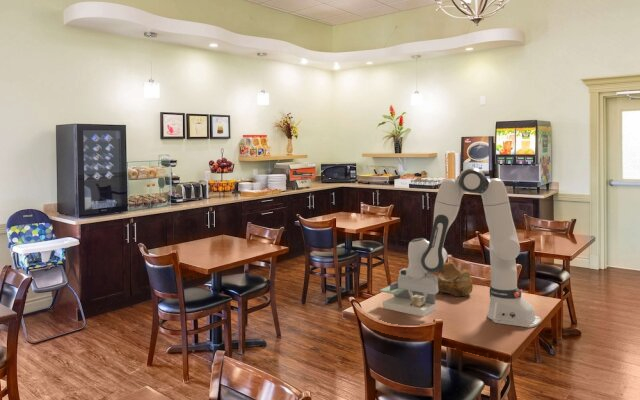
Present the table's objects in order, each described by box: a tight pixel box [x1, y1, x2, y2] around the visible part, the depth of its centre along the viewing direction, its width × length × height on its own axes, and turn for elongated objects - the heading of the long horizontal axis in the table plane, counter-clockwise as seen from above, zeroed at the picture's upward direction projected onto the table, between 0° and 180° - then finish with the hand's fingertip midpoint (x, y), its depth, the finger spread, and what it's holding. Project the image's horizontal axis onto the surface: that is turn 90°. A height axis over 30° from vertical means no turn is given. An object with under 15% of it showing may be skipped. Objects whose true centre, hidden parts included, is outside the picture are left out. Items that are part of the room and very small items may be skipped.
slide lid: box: [379, 281, 407, 295], centre depth 243 cm, size 10×10×4 cm
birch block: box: [412, 295, 425, 308], centre depth 236 cm, size 4×4×7 cm
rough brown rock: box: [436, 261, 474, 297], centre depth 264 cm, size 23×17×15 cm
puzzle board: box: [382, 290, 436, 318], centre depth 239 cm, size 22×12×9 cm, turn 50°
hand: (418, 300), depth 236 cm, fingers closed on birch block, 4 cm apart
